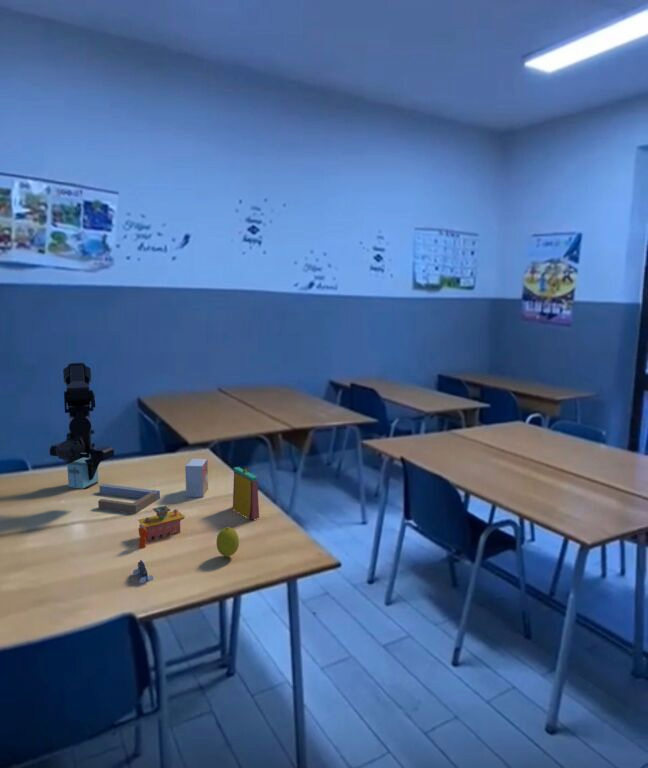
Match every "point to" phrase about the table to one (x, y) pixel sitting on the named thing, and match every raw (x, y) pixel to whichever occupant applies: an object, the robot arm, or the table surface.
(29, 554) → the table surface
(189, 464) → the small box
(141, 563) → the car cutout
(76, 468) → the blue block with grip
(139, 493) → the u-shaped bar frame
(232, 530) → the lemon
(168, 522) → the toy shop counter set
